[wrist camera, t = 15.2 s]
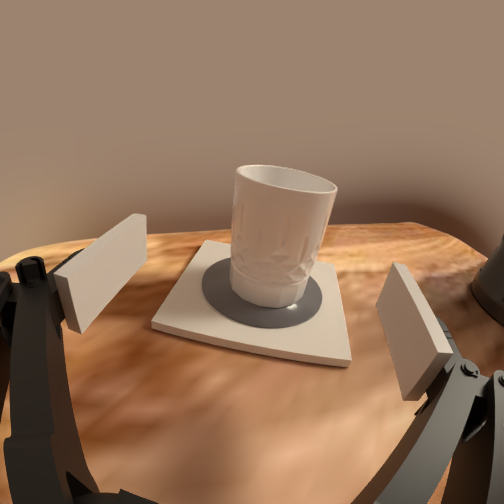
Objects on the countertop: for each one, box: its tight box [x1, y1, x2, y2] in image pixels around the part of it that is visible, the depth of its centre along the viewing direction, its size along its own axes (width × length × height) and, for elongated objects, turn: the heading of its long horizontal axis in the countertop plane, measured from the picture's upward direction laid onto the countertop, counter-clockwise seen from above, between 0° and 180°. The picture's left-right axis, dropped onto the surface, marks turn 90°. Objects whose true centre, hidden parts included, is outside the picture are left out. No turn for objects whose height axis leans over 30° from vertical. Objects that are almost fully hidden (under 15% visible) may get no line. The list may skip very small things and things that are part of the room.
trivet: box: [151, 240, 352, 367], centre depth 27 cm, size 15×15×1 cm
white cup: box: [229, 165, 338, 308], centre depth 24 cm, size 8×8×10 cm
